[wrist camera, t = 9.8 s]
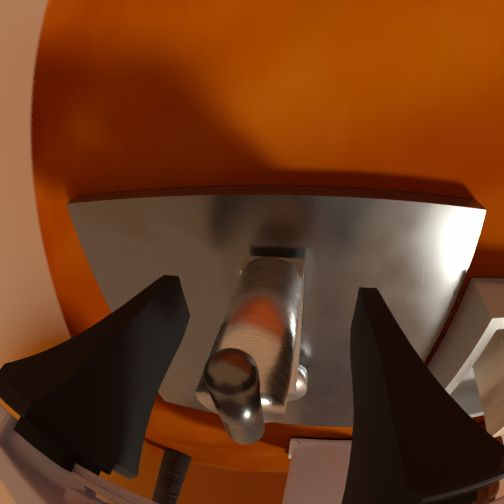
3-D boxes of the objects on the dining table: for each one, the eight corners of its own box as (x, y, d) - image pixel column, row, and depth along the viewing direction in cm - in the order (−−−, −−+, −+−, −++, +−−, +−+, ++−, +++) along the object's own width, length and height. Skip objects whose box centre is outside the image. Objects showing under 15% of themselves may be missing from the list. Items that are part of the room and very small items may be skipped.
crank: (306, 390, 17) (291, 488, 11) (251, 385, 17) (226, 478, 12) (321, 220, 10) (315, 393, 5) (225, 218, 11) (139, 365, 5)
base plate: (476, 200, 9) (487, 211, 8) (380, 416, 20) (381, 427, 19) (78, 196, 14) (65, 204, 13) (167, 392, 24) (164, 401, 23)
